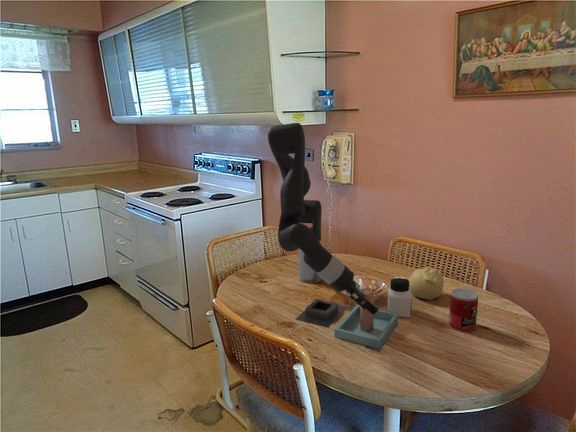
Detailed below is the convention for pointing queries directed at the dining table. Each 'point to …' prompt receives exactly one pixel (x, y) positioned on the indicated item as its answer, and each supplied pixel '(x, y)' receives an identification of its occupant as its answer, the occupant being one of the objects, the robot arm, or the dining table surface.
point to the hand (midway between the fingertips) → (371, 305)
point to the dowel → (367, 314)
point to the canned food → (463, 309)
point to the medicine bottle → (399, 297)
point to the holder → (321, 313)
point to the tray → (373, 339)
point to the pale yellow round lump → (426, 283)
